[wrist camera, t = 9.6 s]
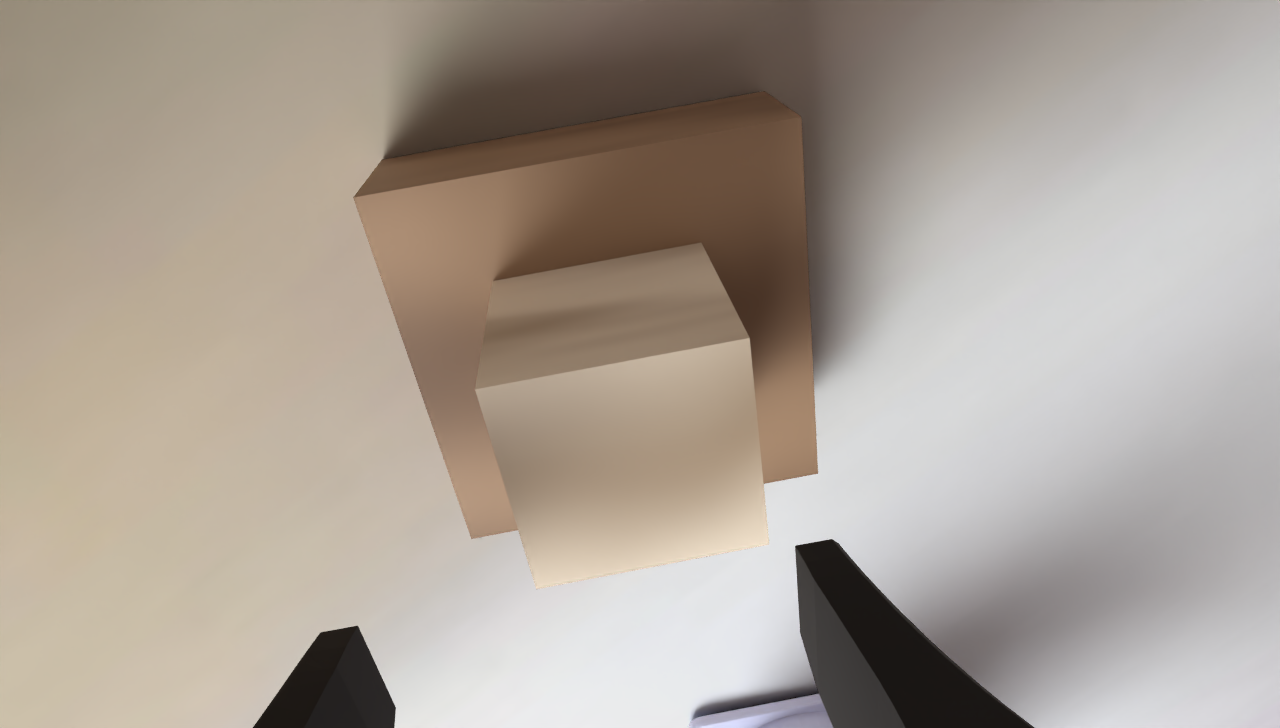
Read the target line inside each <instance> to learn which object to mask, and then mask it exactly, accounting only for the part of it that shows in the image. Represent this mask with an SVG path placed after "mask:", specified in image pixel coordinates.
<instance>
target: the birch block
mask: <svg viewBox="0 0 1280 728" xmlns="http://www.w3.org/2000/svg"><path fill="white" fill-rule="evenodd" d="M475 391H476V394H477V397H478V401H479V404H480V407H481V410H482V414H483V417H484V420H485V423H486V427H487V430H488V433H489V436H490V440H491V443H492V446H493V449H494V453H495V456H496V459H497V463H498V466H499V469H500V472H501V476H502V479H503V482H504V485H505V489H506V492H507V495H508V498H509V502H510V505H511V508H512V511H513V515H514V518H515V521H516V524H517V528H518V531H519V534H520V537H521V541H522V544H523V547H524V550H525V554H526V557H527V560H528V563H529V567H530V570H531V573H532V576H533V580H534V583H535V586H536V589H541V588H546V587H551V586H556V585H561V584H567V583H572V582H577V581H582V580H587V579H593V578H598V577H603V576H608V575H613V574H619V573H624V572H629V571H634V570H639V569H645V568H650V567H655V566H660V565H665V564H671V563H676V562H681V561H686V560H691V559H697V558H702V557H707V556H712V555H717V554H723V553H728V552H733V551H738V550H743V549H749V548H754V547H759V546H764V545H769V537H768V526H767V515H766V505H765V494H764V484H763V473H762V463H761V452H760V442H759V431H758V420H757V410H756V399H755V389H754V378H753V368H752V357H751V347H750V338H749V336H748V334H747V332H746V330H745V328H744V326H743V324H742V322H741V320H740V318H739V316H738V314H737V312H736V310H735V308H734V306H733V304H732V302H731V300H730V298H729V296H728V294H727V292H726V290H725V288H724V286H723V284H722V282H721V280H720V278H719V276H718V275H717V273H716V271H715V269H714V267H713V265H712V263H711V261H710V259H709V257H708V255H707V253H706V251H705V249H704V247H703V245H702V243H696V244H690V245H685V246H680V247H674V248H669V249H663V250H658V251H653V252H647V253H642V254H637V255H631V256H626V257H620V258H615V259H610V260H604V261H599V262H593V263H588V264H583V265H577V266H572V267H566V268H561V269H556V270H550V271H545V272H539V273H534V274H529V275H523V276H518V277H512V278H507V279H502V280H496V281H493V282H492V288H491V294H490V300H489V306H488V313H487V319H486V325H485V331H484V337H483V344H482V350H481V356H480V362H479V368H478V374H477V381H476V387H475Z"/></svg>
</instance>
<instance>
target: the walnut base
mask: <svg viewBox="0 0 1280 728" xmlns="http://www.w3.org/2000/svg"><path fill="white" fill-rule="evenodd" d="M353 198H354V201H355V204H356V207H357V209H358V212H359V215H360V218H361V221H362V224H363V227H364V230H365V233H366V235H367V238H368V241H369V244H370V247H371V250H372V253H373V256H374V259H375V261H376V264H377V267H378V270H379V273H380V276H381V279H382V282H383V285H384V287H385V290H386V293H387V296H388V299H389V302H390V305H391V308H392V311H393V313H394V316H395V319H396V322H397V325H398V328H399V331H400V334H401V337H402V340H403V342H404V345H405V348H406V351H407V354H408V357H409V360H410V363H411V366H412V368H413V371H414V374H415V377H416V380H417V383H418V386H419V389H420V392H421V394H422V397H423V400H424V403H425V406H426V409H427V412H428V415H429V418H430V420H431V423H432V426H433V429H434V432H435V435H436V438H437V441H438V444H439V446H440V449H441V452H442V455H443V458H444V461H445V464H446V467H447V470H448V472H449V475H450V478H451V481H452V484H453V487H454V490H455V493H456V496H457V498H458V501H459V504H460V507H461V510H462V513H463V516H464V519H465V522H466V525H467V527H468V530H469V533H470V536H471V539H473V538H478V537H484V536H489V535H494V534H500V533H505V532H510V531H515V530H518V528H517V524H516V521H515V518H514V515H513V511H512V508H511V505H510V502H509V498H508V495H507V492H506V489H505V485H504V482H503V479H502V476H501V472H500V469H499V466H498V463H497V459H496V456H495V453H494V449H493V446H492V443H491V440H490V436H489V433H488V430H487V427H486V423H485V420H484V417H483V414H482V410H481V407H480V404H479V401H478V397H477V394H476V391H475V387H476V381H477V374H478V368H479V362H480V356H481V350H482V344H483V337H484V331H485V325H486V319H487V313H488V306H489V300H490V294H491V288H492V282H493V281H496V280H502V279H507V278H512V277H518V276H523V275H529V274H534V273H539V272H545V271H550V270H556V269H561V268H566V267H572V266H577V265H583V264H588V263H593V262H599V261H604V260H610V259H615V258H620V257H626V256H631V255H637V254H642V253H647V252H653V251H658V250H663V249H669V248H674V247H680V246H685V245H690V244H696V243H702V245H703V247H704V249H705V251H706V253H707V255H708V257H709V259H710V261H711V263H712V265H713V267H714V269H715V271H716V273H717V275H718V276H719V278H720V280H721V282H722V284H723V286H724V288H725V290H726V292H727V294H728V296H729V298H730V300H731V302H732V304H733V306H734V308H735V310H736V312H737V314H738V316H739V318H740V320H741V322H742V324H743V326H744V328H745V330H746V332H747V334H748V336H749V338H750V347H751V357H752V368H753V378H754V389H755V399H756V410H757V420H758V431H759V442H760V452H761V463H762V473H763V484H765V483H770V482H775V481H781V480H786V479H791V478H797V477H802V476H807V475H812V474H818V465H817V443H816V422H815V400H814V379H813V357H812V335H811V314H810V292H809V271H808V249H807V228H806V206H805V184H804V163H803V141H802V120H801V116H799V115H798V114H797V113H795V112H794V111H792V110H791V109H789V108H788V107H787V106H785V105H784V104H782V103H781V102H779V101H778V100H777V99H775V98H774V97H772V96H771V95H769V94H768V93H766V92H765V91H762V92H756V93H751V94H745V95H739V96H734V97H728V98H723V99H717V100H712V101H706V102H700V103H695V104H689V105H684V106H678V107H673V108H667V109H661V110H656V111H650V112H645V113H639V114H634V115H628V116H622V117H617V118H611V119H606V120H600V121H595V122H589V123H583V124H578V125H572V126H567V127H561V128H556V129H550V130H544V131H539V132H533V133H528V134H522V135H517V136H511V137H505V138H500V139H494V140H489V141H483V142H478V143H472V144H466V145H461V146H455V147H450V148H444V149H439V150H433V151H427V152H422V153H416V154H411V155H405V156H400V157H394V158H388V159H383V160H381V162H380V163H379V164H378V166H377V167H376V168H375V170H374V171H373V172H372V174H371V175H370V176H369V178H368V179H367V180H366V182H365V183H364V184H363V186H362V187H361V188H360V190H359V191H358V192H357V193H356V195H355V196H354V197H353Z"/></svg>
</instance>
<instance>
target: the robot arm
mask: <svg viewBox="0 0 1280 728" xmlns="http://www.w3.org/2000/svg"><path fill="white" fill-rule="evenodd" d="M795 550H796V567H797V584H798V601H799V618H800V633H801V637H802V640H803V643H804V647H805V650H806V653H807V657H808V660H809V663H810V667H811V670H812V673H813V676H814V680H815V683H816V686H817V689H818V692H819V694H814V695H809V696H804V697H799V698H794V699H789V700H783V701H778V702H773V703H768V704H763V705H758V706H752V707H747V708H742V709H737V710H732V711H727V712H721V713H716V714H711V715H706V716H701V717H698V718H695V719H694V720H692V721H691V723H690V724H689V728H1034V727H1033V726H1032V725H1030V724H1029V723H1028V722H1026V721H1025V720H1024V719H1022V718H1021V717H1020V716H1019V715H1017V714H1016V713H1015V712H1013V711H1012V710H1011V709H1009V708H1008V707H1007V706H1006V705H1004V704H1003V703H1002V702H1001V701H999V700H998V699H997V698H996V697H994V696H993V695H992V694H991V693H989V692H988V691H987V690H986V689H985V688H983V687H982V686H981V685H980V684H979V683H977V682H976V681H975V680H974V679H973V678H972V677H970V676H969V675H968V674H967V673H966V672H965V671H964V670H962V669H961V668H960V667H959V666H958V665H957V664H956V663H954V662H953V661H952V660H951V659H950V658H949V657H948V656H946V655H945V654H944V653H943V652H942V651H941V650H940V649H939V648H938V647H937V646H936V645H935V644H933V643H932V642H931V641H930V640H929V639H928V638H927V637H926V636H925V635H924V634H923V633H922V632H921V631H920V630H919V629H918V628H917V627H916V626H915V625H914V624H913V623H912V622H911V621H910V620H909V619H908V618H906V617H905V616H904V615H903V614H902V613H901V612H900V611H899V610H898V609H897V608H896V607H895V606H894V605H893V604H892V603H891V601H890V600H889V599H888V598H887V597H886V596H885V595H884V594H883V593H882V592H881V591H880V590H879V589H878V588H877V587H876V586H875V585H874V584H873V582H872V581H871V580H870V579H869V578H868V577H867V576H866V575H865V574H864V573H863V571H862V570H861V569H860V568H859V567H858V566H857V565H856V564H855V562H854V561H853V560H852V559H851V558H850V557H849V555H848V554H847V553H846V552H845V551H844V550H843V548H842V547H841V546H840V545H839V543H837V542H835V541H834V540H832V539H830V540H825V541H819V542H814V543H808V544H803V545H797V546H795ZM395 710H396V707H395V705H394V703H393V701H392V699H391V697H390V694H389V692H388V690H387V688H386V686H385V684H384V681H383V679H382V677H381V675H380V673H379V671H378V668H377V666H376V664H375V662H374V660H373V658H372V655H371V653H370V651H369V649H368V647H367V645H366V642H365V640H364V638H363V636H362V634H361V632H360V629H359V627H358V626H354V627H348V628H343V629H337V630H332V631H326V632H321V633H320V634H319V635H318V637H317V638H316V639H315V641H314V642H313V644H312V645H311V646H310V648H309V649H308V650H307V652H306V653H305V655H304V656H303V657H302V659H301V660H300V662H299V663H298V665H297V666H296V667H295V669H294V670H293V672H292V673H291V675H290V676H289V677H288V679H287V680H286V682H285V683H284V685H283V686H282V687H281V689H280V690H279V692H278V693H277V695H276V696H275V697H274V699H273V700H272V702H271V703H270V704H269V706H268V707H267V709H266V710H265V711H264V713H263V714H262V716H261V717H260V718H259V720H258V721H257V723H256V724H255V725H254V727H253V728H394V723H395Z"/></svg>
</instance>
